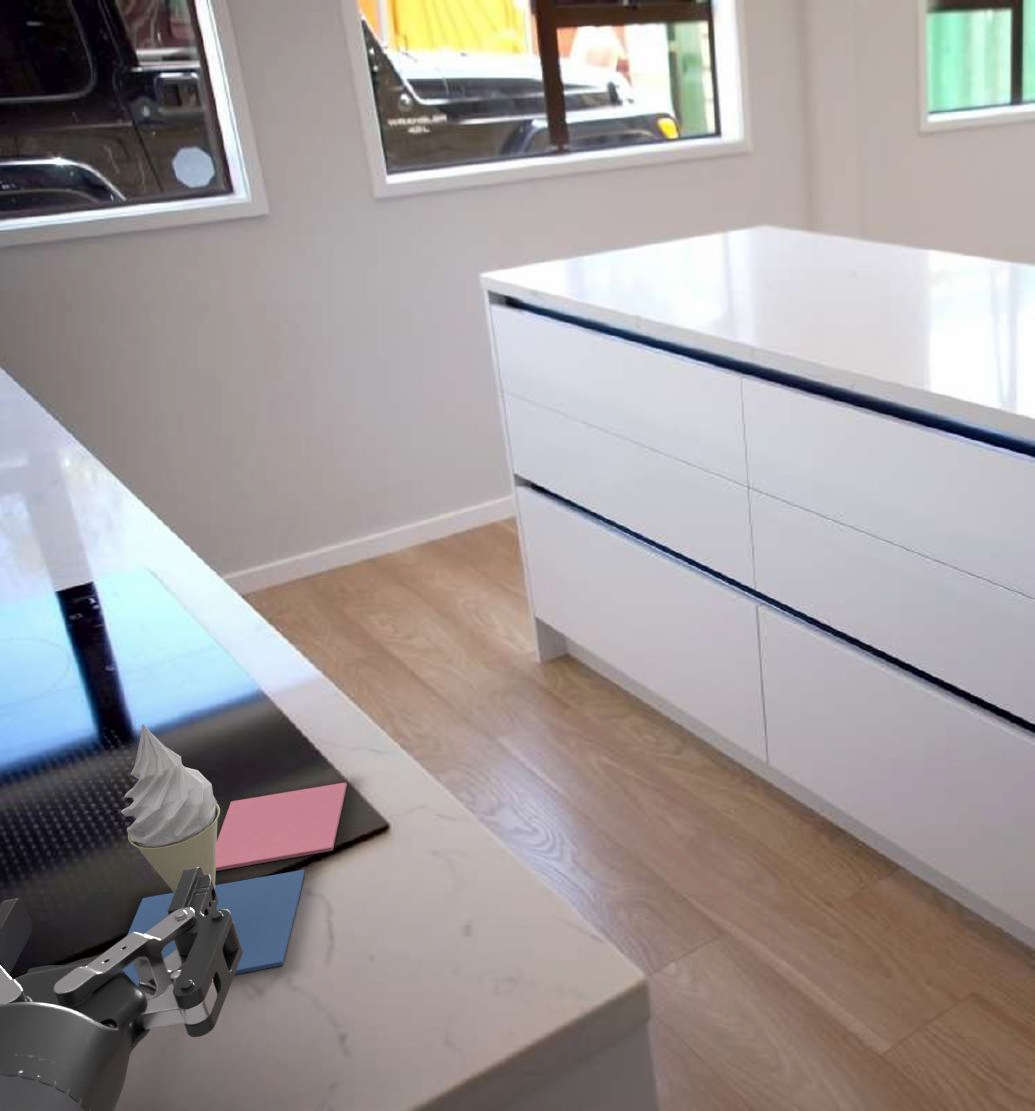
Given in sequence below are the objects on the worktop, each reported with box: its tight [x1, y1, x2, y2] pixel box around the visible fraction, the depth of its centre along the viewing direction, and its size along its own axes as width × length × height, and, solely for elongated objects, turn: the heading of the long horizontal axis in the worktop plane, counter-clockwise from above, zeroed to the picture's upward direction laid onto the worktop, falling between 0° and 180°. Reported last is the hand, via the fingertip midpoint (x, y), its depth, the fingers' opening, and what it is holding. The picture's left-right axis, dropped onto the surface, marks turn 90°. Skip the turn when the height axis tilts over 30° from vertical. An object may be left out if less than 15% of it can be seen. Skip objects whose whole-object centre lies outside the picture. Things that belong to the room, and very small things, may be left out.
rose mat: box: [216, 781, 348, 872], centre depth 89 cm, size 8×8×1 cm
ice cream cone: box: [120, 724, 221, 893], centre depth 76 cm, size 5×5×15 cm
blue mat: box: [123, 869, 306, 986], centre depth 79 cm, size 10×9×1 cm
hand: (109, 896), depth 65 cm, fingers open, 8 cm apart
